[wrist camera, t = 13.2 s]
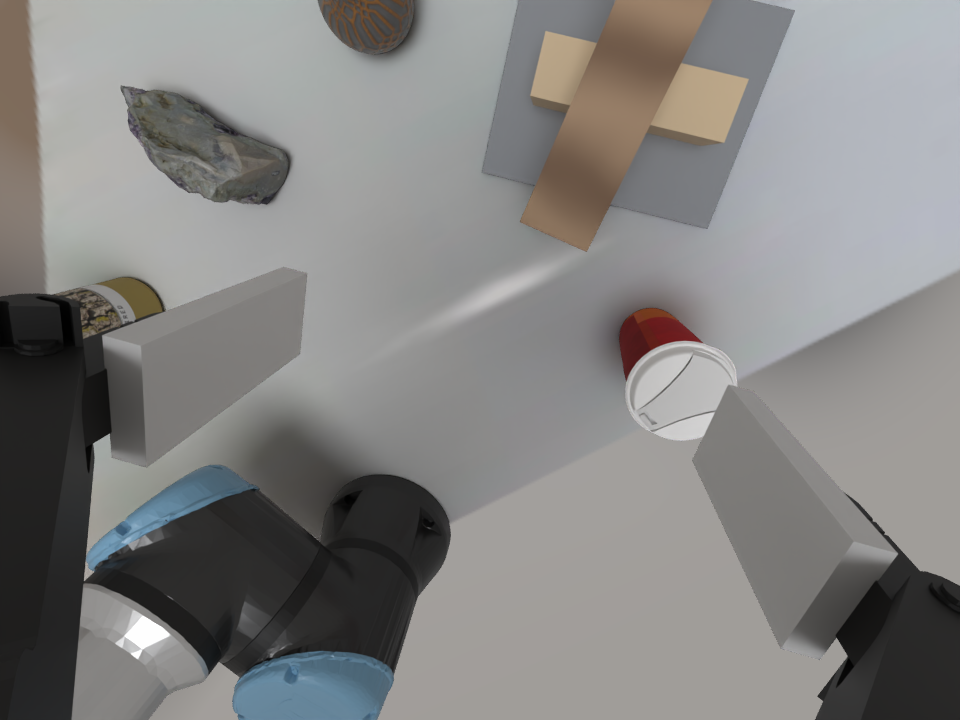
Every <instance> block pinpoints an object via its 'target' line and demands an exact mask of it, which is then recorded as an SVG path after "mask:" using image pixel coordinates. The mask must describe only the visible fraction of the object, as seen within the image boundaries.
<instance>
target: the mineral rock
mask: <svg viewBox="0 0 960 720" xmlns="http://www.w3.org/2000/svg"><path fill="white" fill-rule="evenodd" d="M121 91H122V93H123V95H124V97H125V100H126V103H127V105H128V107H129V108H128V110H127V112H128V124H129V128H130V131H131V132H132V133H133V135H134V136H135V137H136V138H137V139H138V140H139V142H140V145H141V146H143V147H144V150H145V152H146V154H147V156H148V158H149V159H150V160H151V162H152V163H153V164H154V165H155V166H156V167H157V168H158V169H159V170H160V171H162V172H163V173H165V174H166V175H167V176H168V177H169V178H170V179H171V180H172V181H173V182H174V183H175V184H176V185H177V186H178V187H179V188H183V189H184V190H185V191H187V192H188V193H199V194H201V195H202V196H203V197H204V198H207V199H210V200H212V201H214V202H227V201H228V200H233V201H237V202H239V203H243V204H246V203H247V204H248V203H250V204H258V205H259V204H261V203H262V204H268V203H269V201H270V200H271V198H272V196H273V195H274V194H275V193H276V192H277V190H278V189H279V188H280V187H281V186H282V185H283V183H284V181H285V178H286V175H287V171H288V159H287V157H286V154H285V153H284V152H283V151H282V150H281V149H276V148H272V147H270V146H268V145H265V144H262V143H260V142H258V141H256V140H253V139H252V138H250V137H247V136H244V135H239V134H238V133H236V132H235V131H234V130H232V129H230V128H228V127H227V126H225V125H223V124H222V123H220V122H218V121H216V120H214V119H213V118H212V117H211V116H209V115H208V114H207V113H206V112H205V111H204V110H203V109H202V108H201V107H200V105H198V104H196V103H194V102H192V101H190V100H189V99H185V98H184V97H182V96H181V95H179V94H176V93H173V92H166V91H160V90H152V91H145V90H143V89H137V88H133V87H125V86H121Z"/></svg>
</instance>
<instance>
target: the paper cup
mask: <svg viewBox="0 0 960 720" xmlns="http://www.w3.org/2000/svg"><path fill="white" fill-rule="evenodd" d="M619 343H620V350H621V356H622V361H623V368H624V374H625V378H626V387H625V399H626V404H627V407H628V409H629V412H630V414H631V415H632V417H633V418H634V419H635V421H636V422H637V423H638V424H639V425H641V426H642V427H643V428H644V429H646V430H648V431H649V432H652V433H654V434H656V435H657V436H660V437H662V438H666V439H670V440H678V441H683V440H692V439H697V438H700V437H703V436H704V434H705V432H706V430H707V428H708V426H709V424H710V422H711V420H712V418H713V415H714V413H715V411H716V409H717V407H718V405H719V403H720V401H721V399H722V396H723V394H724V392H725V390H726V388H727V386H728V384H729V385H733V386H736V387H737V378H736V368H735V366H734V364H733V363H732V361H731V360H730V359H729V357H728V356H727V355H726V354H725V353H724V352H722V351H721V350H720V349H717V348H714V347H711V346H708V345H706V344H704V343H703V342H702V341H700V340H699V339H698V338H697V337H696V336H695V335H694V334H693V333H692V332H691V331H689V330H688V329H687V328H686V327H685V326H684V325H683V324H682V323H680V322H679V321H678V320H677V319H676V318H674V317H673V316H672V315H671V314H669V313H668V312H666V311H664V310H661V309H657V308H646V309H642V310H639V311H637V312H635V313H633V314H632V315H630V316H629V317H628V318H627V319H626V320H625V322H624V323H623V325H622V327H621V330H620V334H619Z"/></svg>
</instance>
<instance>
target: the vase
mask: <svg viewBox="0 0 960 720" xmlns="http://www.w3.org/2000/svg"><path fill="white" fill-rule="evenodd" d="M318 4H319V7H320V10H321V13H322V15H323V17H324V19H325V21H326V23H327V25H328V26H329V28H330V29H331V31H332V32H333V33H334V34H335V35H336V37H337V38H338V39H339V40H341V41H342V42H343V43H344V44H346V45H347V46H349V47H350V48H352V49H354V50H357V51H359V52H362V53H366V54H381V53H385V52H388V51H390V50H392V49H394V48H395V47H397V46H398V45H399V44H400V43H401V42H402V41H403V40H404V38H405V37H406V35H407V34H408V32H409V29H410V27H411V24H412V20H413V14H414V0H318Z"/></svg>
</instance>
